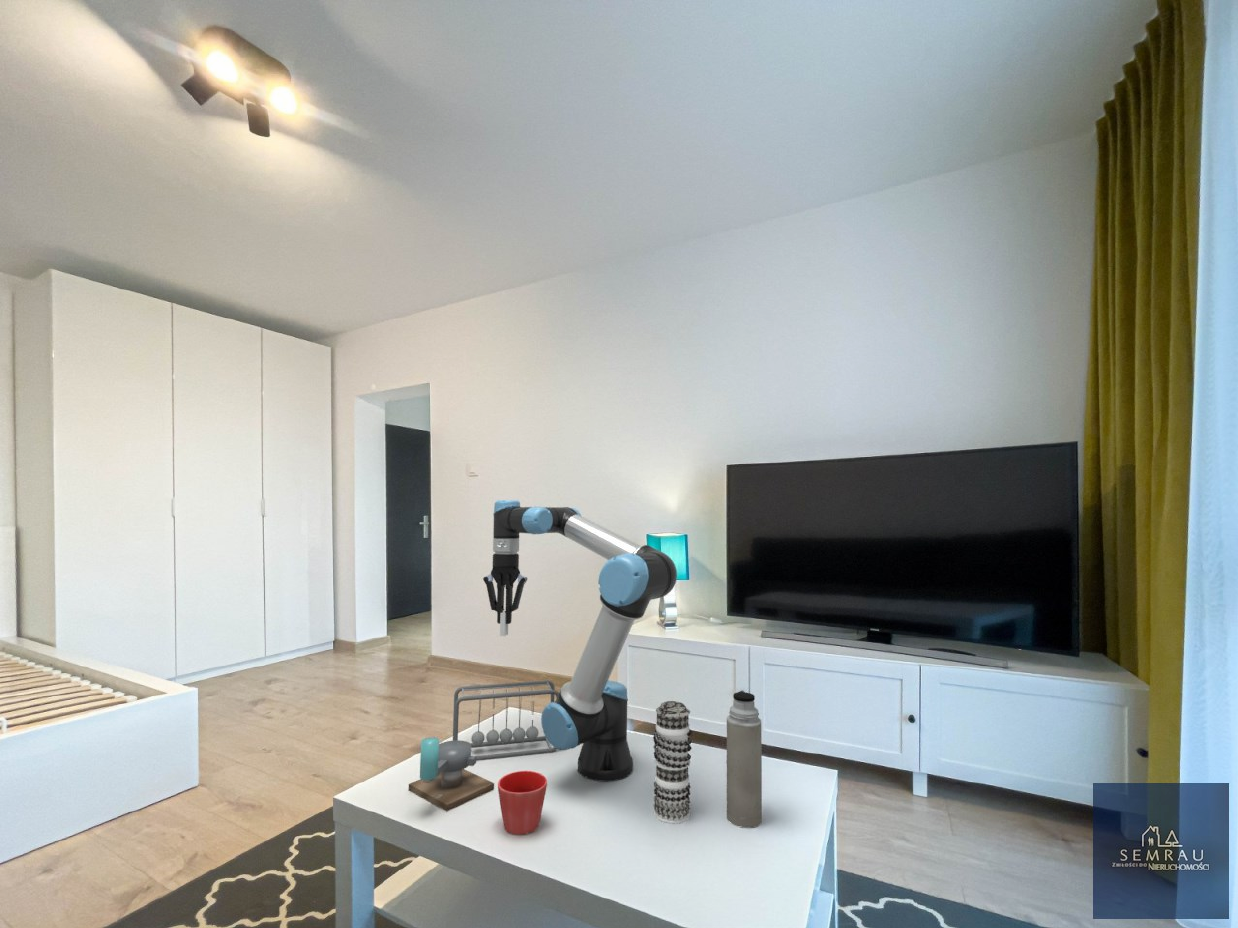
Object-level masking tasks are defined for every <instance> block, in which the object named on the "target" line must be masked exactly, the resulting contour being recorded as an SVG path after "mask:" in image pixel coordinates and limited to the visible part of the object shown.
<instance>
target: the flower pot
mask: <svg viewBox="0 0 1238 928" xmlns="http://www.w3.org/2000/svg"><path fill="white" fill-rule="evenodd" d="M547 786H548V779H547V778H546V776H545V775H543V774H542V773H540V772H536V771H534V770H533V771H532V770H519V771H514V772H510V773H507V774H505V775H503V776H502V777H501V778H500V779H499V780H498V781H497V791H498V797H499V798H498V799H499V805H500V812H501V817H502V818H501V819H502V821H503V822H502V823H503V827H504V830H505V831H506V833H508V834H511V835H516V836H523V835H528V834H531V833H533V832H535V831H536V830H537V829H538V828H539V826H540V821H541V816H542V813H543V808H544V802H545V798H546V797H545V796H546V791H547Z"/></svg>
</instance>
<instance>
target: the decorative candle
mask: <svg viewBox="0 0 1238 928" xmlns="http://www.w3.org/2000/svg"><path fill="white" fill-rule="evenodd" d="M655 712H656V723H655V726H654V727H653V730H652V733H653V737H652V739H653V744H654V745H653V749H654V752H653V758H654V761H653V762H654V764H655V765H656V768H655V772H656V773H655V780H654V781H653V786H654V789H653V792H654V793H653V794H654V796H653V802H654V804H653V808H654V811H653V815H654V817H655V818H656V819H657V820H658V821H660V822H663V823H666V824H672V825H677V824H678V825H679V824H683V823H685V822H688V820H689V819H690V817H691V813H690V810H691V807H690V805H691V804H690V803H691V800H690V799H691V798H690V795H691V790H690V788H691V783H690V775H689V767H690V765H691V758H692V755H691V754H690V753H689V752H690V751H691V750H692V746H691V744H692V741H693V740H692V739H691V737H690V736H692V734H693V731H692V729H690V724H689V715H690V713H691V710H690V709H689V708H687V706H686V705H685V704H684V702H683V703H682V702H680V701H677V700H675V701H674V700H668V701H664V702H661V703H660V705H659V706H658V707H657V708H655Z"/></svg>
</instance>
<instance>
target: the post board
mask: <svg viewBox="0 0 1238 928" xmlns="http://www.w3.org/2000/svg"><path fill="white" fill-rule="evenodd" d="M494 790H495V782H492V781H490V780H488V779H486V778H484V777H482V776H479V775H478V774H475V773H473V772H471V771H469V770H466V768H464V769H462V770H459V771H454V772H441V773H440V774H439V775H438V776H437V777H436V778H435V779H434V780H433V781H427V780H422V779H418V780H414V781H413V782H410V783H408V791H409V792H411V793H412V794H415V795H417V796H418V797H420V798H422V799H424V800H425V801H427V802H429V803H430V804H433V805H435V806H437V807H438V808H439V809H441V810H443V811H445V812H448V811H451V810H453V809H456V808H457V807H459V806H462V805H464V804H466V803H468V802H470V801H472V800H475V799H477V798H479V797H481V796H483V795H485V794H487V793H489V792H492V791H494Z"/></svg>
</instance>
